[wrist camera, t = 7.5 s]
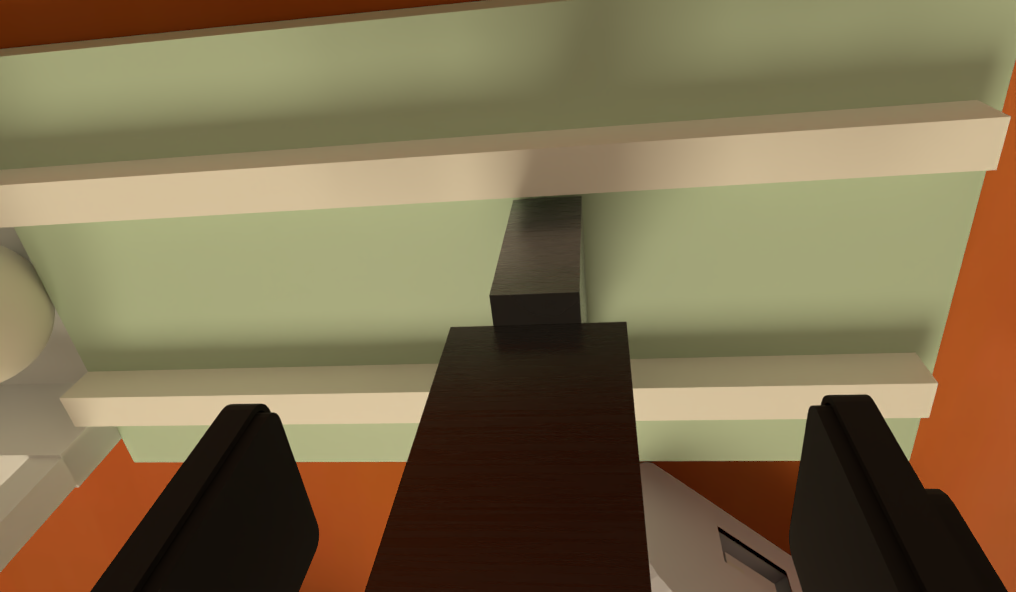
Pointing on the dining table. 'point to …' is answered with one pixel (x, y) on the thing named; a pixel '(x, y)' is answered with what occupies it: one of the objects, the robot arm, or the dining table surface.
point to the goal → (42, 435)
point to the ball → (22, 314)
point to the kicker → (525, 438)
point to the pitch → (507, 207)
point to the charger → (704, 543)
